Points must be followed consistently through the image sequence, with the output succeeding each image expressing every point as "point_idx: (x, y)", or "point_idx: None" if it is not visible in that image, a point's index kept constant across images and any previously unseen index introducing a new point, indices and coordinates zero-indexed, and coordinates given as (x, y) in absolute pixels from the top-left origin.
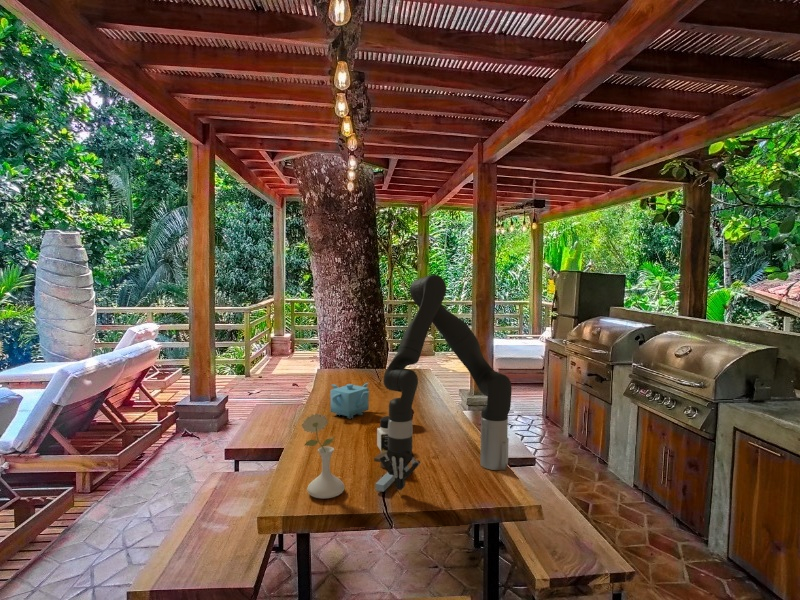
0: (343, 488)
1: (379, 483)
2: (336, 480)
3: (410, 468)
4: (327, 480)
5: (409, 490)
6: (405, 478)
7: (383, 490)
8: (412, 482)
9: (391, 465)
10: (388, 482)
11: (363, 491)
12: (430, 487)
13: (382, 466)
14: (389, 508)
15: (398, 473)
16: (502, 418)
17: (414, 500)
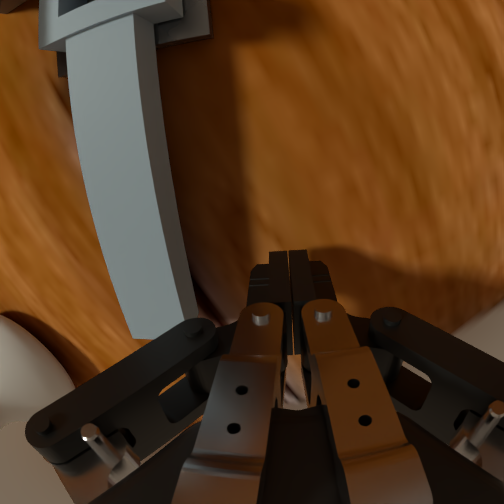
0: (56, 373)
1: (149, 327)
2: (26, 397)
3: (437, 435)
4: (26, 420)
5: (326, 174)
6: (211, 23)
7: (196, 317)
8: (289, 43)
9: (166, 385)
10: (175, 259)
11: (95, 304)
12: (438, 76)
13: (10, 6)
14: (300, 382)
15: (281, 362)
16: None
17: (396, 279)
